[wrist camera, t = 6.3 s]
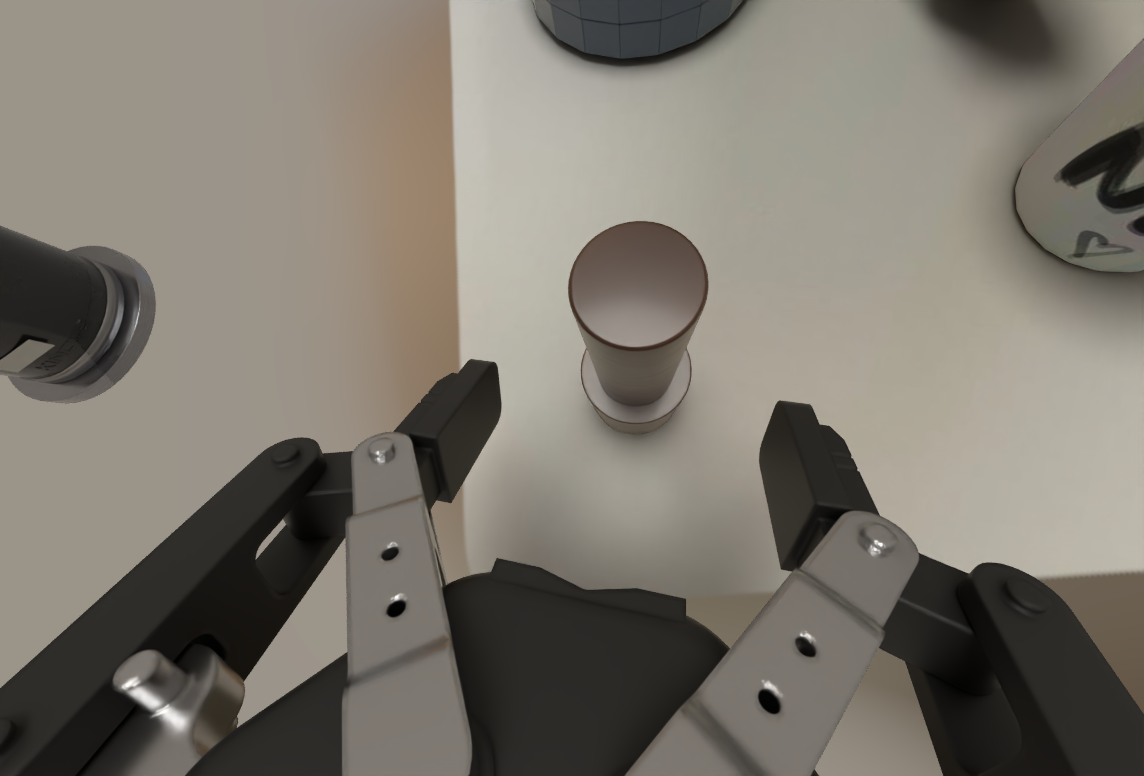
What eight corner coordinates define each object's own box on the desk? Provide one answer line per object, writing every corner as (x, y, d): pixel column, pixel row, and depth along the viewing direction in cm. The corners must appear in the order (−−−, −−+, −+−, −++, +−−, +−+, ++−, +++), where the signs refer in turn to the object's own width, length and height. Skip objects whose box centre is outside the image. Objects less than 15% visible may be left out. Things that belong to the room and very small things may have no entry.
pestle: (575, 399, 22) (497, 306, 9) (626, 334, 22) (616, 157, 10) (643, 452, 21) (659, 426, 8) (696, 383, 21) (788, 257, 9)
